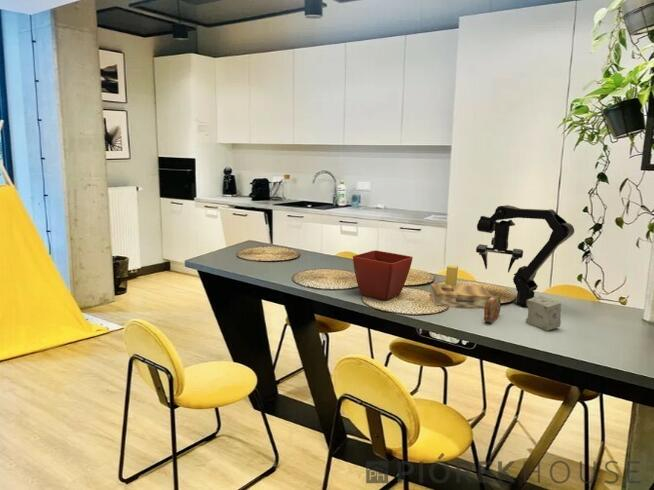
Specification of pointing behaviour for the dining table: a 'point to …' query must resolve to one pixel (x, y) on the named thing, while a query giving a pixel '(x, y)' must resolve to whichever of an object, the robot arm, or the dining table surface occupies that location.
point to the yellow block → (451, 275)
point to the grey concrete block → (543, 313)
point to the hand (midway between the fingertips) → (497, 270)
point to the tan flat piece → (459, 295)
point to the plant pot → (381, 273)
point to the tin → (492, 309)
